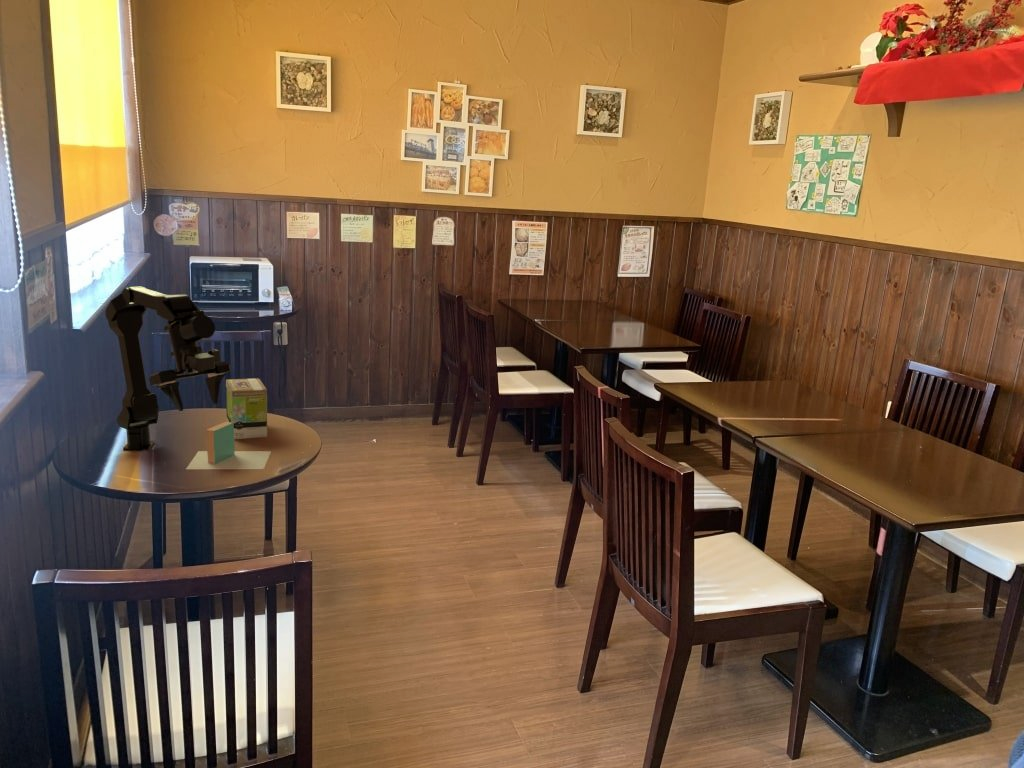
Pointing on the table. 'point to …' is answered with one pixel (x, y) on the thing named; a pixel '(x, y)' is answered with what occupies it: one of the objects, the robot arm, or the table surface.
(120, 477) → the table surface
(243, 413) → the tea box
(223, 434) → the tile
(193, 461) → the mat
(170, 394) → the robot arm
